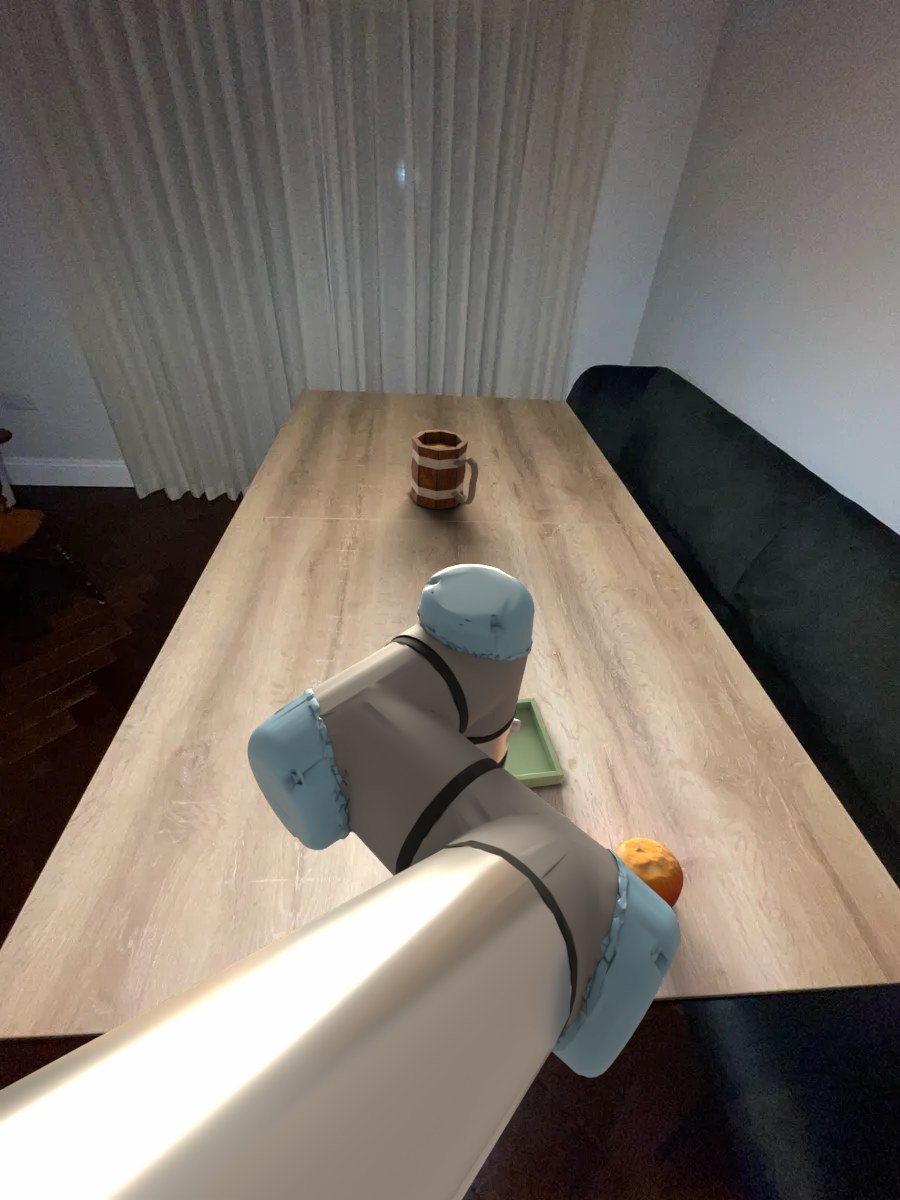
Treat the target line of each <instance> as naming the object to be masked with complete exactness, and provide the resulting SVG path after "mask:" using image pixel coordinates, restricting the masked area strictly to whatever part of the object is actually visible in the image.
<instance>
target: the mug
mask: <svg viewBox="0 0 900 1200" xmlns="http://www.w3.org/2000/svg"><path fill="white" fill-rule="evenodd" d="M411 444H412V445H411V446H412V458H411V464H410V469H411V489H410V496H411V498H412V500H413V501H414V502H415V504H416V505H418V506H422V507H425V508H429V509H433V510H440V509H441V510H443V509H450V508H455V507H457V506H458V505H459V504H461V505H465V506H466V505H470V504H472V503H473V501H474V499H475V496H476V491H477V483H478V477H479V465H478V463H477V461H476V460H475V459H474V458H473V457H467V449H468V445H469V441H468V439H466V437H464V435H463V434H462V433H459V432H457V431H456V432H455V431H452V430H446V429H443V428H442V429H441V428H439V429H426V430H425V429H424V430H420V431H419V432H417V433H416V434H414V435H413V436H411ZM466 464H468V465H469V466H470V479H469V483H468V491H467V492H468V493H467V498H466V497H465V496H464V483H465V482H464V481H465V476H466Z"/></svg>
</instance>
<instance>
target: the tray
mask: <svg viewBox="0 0 900 1200" xmlns="http://www.w3.org/2000/svg"><path fill="white" fill-rule="evenodd" d="M514 719H518V720H520V722H521V728H520V730H519V731H518V732H512V731H511V734H510V740H509V744H508V752H507V758H506V763H505V767H504V769H505V770H507V771H508V772H509V773H510V774H512V775H513V776H514V777H515V778H517V779H518V780H519V781H521V782H522V783H523V784H524V785H526V786H527V787H528V788H529V789H530V788H535V787H544V786H551V785H552V786H553V785H560V784H561V785H562V782H563V779H564V772H563V770H562V768H561V767H562V766H561V764H560V762H559V759H558V757H557V754H556V752H555V749H554V746H553V744H552V741H551V738H550V736H549V733H548V731H547V730H548V729H547V727H546V724H545V723H544V720H543V716H542V715H541V712H540V709H539V707H538V704H537V701H536V699H535V697H524V698H518V700H517V708H516V712H515V716H514Z"/></svg>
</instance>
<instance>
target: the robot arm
mask: <svg viewBox="0 0 900 1200" xmlns="http://www.w3.org/2000/svg"><path fill="white" fill-rule="evenodd" d="M420 593H421V594H420V601H419V604H418V608H417V609H416V613H417V617H418V620H417V622H416V623H415V624H414V625H413V626H411V627H409V628H408V629H406V630H404V631H402V632H401V633H400V634H398V635H395V637H393V638H392V639H390V641H389V642H388V643H386V644H385V645H384V646H383V647H382V648H380V649H378V650H377V651H375V652H373V653H372V654H369V655H368V656H366V657H364V658H363V659H361V660H359V661H358V662H356V663H354V664H353V665H351V666H349V667H347V668H345V669H344V670H342V671H340V672H338V673H337V674H335V675H332V676H331V677H329V678H328V679H326V680H325V681H322V682H321V683H319V684H318V685H316V686H314V687H309V688H307V689H306V690H304V691H303V692H302V693H301V694H300V695H298V696H297V697H295V698H294V699H293V700H291V701H290V702H288V703H287V704H286V705H284V706H283V707H281V708H280V709H278V710H277V711H275V712H274V713H273V714H272V715H271V716H270V717H268V718H267V719H266V720H264V721H263V722H262V723H261V724H259V725H258V726H257V727H256V728H255V729H254V730H253V732H251V733H252V734H251V735H250V736H249V740H248V744H247V758H248V763H249V767H250V770H251V772H252V774H253V777H254V779H255V782H256V784H257V786H258V787H259V789H260V791H261V794H262V795H263V797H264V799H265V800H266V802H267V803H268V805H269V807H270V808H271V810H272V811H273V813H274V814H275V815H276V816H277V817H276V818H278V819H279V821H280V823H281V824H282V825H283V826H284V827H285V829H286V830H287V831H288V832H289V833H290V834H291V835H292V837H294V838H296V839H298V841H299V842H300V843H301V844H302V845H303V846H304V847H305V848H307V849H310V850H313V851H323V850H325V849H328V848H329V847H330V846H332V845H334V844H335V843H336V842H338V841H340V840H345V839H346V838H348V836H350V834H351V833H353V834H355V836H357V838H359V840H360V841H361V842H362V843H363V844H364V845H365V846H366V847H367V849H368V850H370V852H371V853H372V854H373V855H374V856H375V857H376V858H377V859H378V861H379V862H380V863H381V864H382V865H383V866H384V867H385V868H386V869H387V871H388V872H389V873H390V874H391V875H392V876H390V877H389V878H387V879H386V880H384V881H382V882H380V883H378V884H375V886H373V887H371V888H369V889H367V890H365V891H364V892H362V893H360V894H358V895H355V897H353V898H351V899H349V900H347V901H345V902H343V903H341V904H339V905H338V906H336V907H333V908H332V909H330V910H329V911H327V912H325V913H323V914H321V915H319V916H318V917H316V918H314V919H312V920H310V921H308V922H306V923H304V924H302V925H301V926H299V927H298V928H295V929H294V930H292V931H290V932H288V933H286V934H284V935H283V936H281V937H279V938H277V939H276V940H273V941H272V942H270V943H268V944H266V945H264V946H263V947H261V948H259V949H257V950H255V951H253V952H252V953H250V954H248V955H246V956H244V957H242V958H241V959H239V960H237V961H235V962H233V963H231V964H229V965H228V966H226V967H223V968H222V969H220V970H219V971H217V972H214V973H213V974H211V975H210V976H207V977H205V978H204V979H202V980H200V981H198V982H197V983H195V984H192V985H191V986H189V987H188V988H185V989H184V990H182V991H180V992H178V993H176V994H174V995H173V996H171V997H169V998H168V999H165V1000H164V1001H162V1002H160V1003H158V1004H156V1005H154V1006H152V1007H151V1008H149V1009H146V1010H145V1011H143V1012H141V1013H139V1014H138V1015H136V1016H135V1017H132V1018H131V1019H128V1020H127V1021H125V1022H123V1023H122V1024H119V1025H118V1026H115V1027H114V1028H113V1029H111V1030H108V1031H107V1032H105V1033H103V1034H102V1035H99V1036H97V1037H96V1038H94V1039H92V1040H90V1041H88V1042H87V1043H85V1044H83V1045H81V1046H79V1047H77V1048H76V1049H74V1050H72V1051H69V1052H68V1053H67V1054H65V1055H63V1056H61V1057H59V1058H57V1059H55V1060H54V1061H52V1062H50V1063H48V1064H46V1065H45V1066H43V1067H41V1068H39V1069H37V1070H34V1071H33V1072H31V1073H30V1074H28V1075H26V1076H24V1077H23V1078H21V1079H19V1080H17V1081H15V1082H13V1083H11V1084H10V1085H7V1086H6V1087H4V1088H2V1089H1V1090H0V1200H463V1199H464V1197H465V1195H466V1193H467V1192H468V1190H469V1188H470V1187H471V1185H472V1183H473V1182H474V1180H475V1179H476V1177H477V1175H478V1174H479V1172H480V1170H481V1169H482V1167H483V1165H484V1164H485V1162H486V1161H487V1158H488V1157H489V1156H490V1153H491V1152H492V1150H493V1149H494V1147H495V1145H496V1144H497V1142H498V1140H499V1139H500V1137H501V1135H502V1134H503V1132H504V1130H505V1129H506V1127H507V1125H508V1124H509V1122H510V1120H512V1117H513V1115H514V1114H515V1113H516V1110H517V1108H519V1106H520V1104H521V1102H522V1101H523V1100H524V1097H525V1095H526V1094H527V1092H528V1091H529V1089H530V1087H531V1086H532V1084H533V1082H534V1080H535V1079H536V1077H537V1075H539V1072H540V1070H541V1069H542V1068H543V1066H544V1064H545V1063H546V1061H547V1059H548V1058H549V1056H550V1054H551V1053H553V1054H554V1055H555V1056H556V1057H557V1058H559V1059H560V1060H561V1061H562V1062H563V1063H564V1064H565V1065H566V1066H567V1067H568V1068H570V1069H571V1070H572V1072H574V1073H576V1074H577V1075H578V1076H583V1077H586V1078H588V1079H589V1078H597V1077H599V1076H601V1075H603V1074H604V1073H605V1072H606V1071H607V1070H608V1069H609V1068H610V1067H611V1066H612V1064H613V1063H614V1062H615V1060H616V1059H617V1058H618V1057H619V1055H620V1054H621V1053H622V1052H623V1049H624V1048H625V1046H626V1045H627V1043H629V1040H630V1039H632V1037H633V1035H634V1033H635V1031H636V1030H637V1028H638V1026H639V1025H640V1023H641V1021H643V1019H644V1017H645V1015H646V1013H647V1012H648V1010H649V1008H650V1006H651V1005H652V1003H653V1001H654V999H655V997H656V996H657V994H658V992H659V990H660V988H661V987H662V985H663V981H664V979H665V976H666V975H667V973H668V971H669V969H670V967H671V966H672V964H673V962H674V961H675V959H676V956H677V953H678V951H679V948H680V944H681V937H682V932H681V927H680V923H679V919H678V917H677V915H676V913H675V911H674V910H673V907H672V908H671V907H670V906H669V905H668V904H667V903H666V902H665V901H664V900H663V899H662V898H661V897H660V896H659V895H658V894H656V893H655V892H654V891H653V890H652V889H651V888H650V887H649V886H648V885H647V884H645V883H644V882H643V881H642V880H641V879H640V878H639V877H638V876H637V875H635V874H634V873H633V872H632V871H631V870H630V869H629V868H628V867H627V866H626V865H624V863H623V861H622V859H621V858H620V857H619V856H618V855H617V854H616V853H615V852H613V851H614V850H612V849H610V848H606V847H604V846H603V845H602V844H601V843H599V842H598V841H597V840H596V839H594V838H593V837H592V836H591V835H589V834H588V833H586V831H584V830H583V829H581V828H580V827H579V826H578V825H576V824H575V823H574V822H573V821H572V820H570V819H569V818H568V817H566V816H565V815H564V814H563V813H561V811H559V810H558V809H556V807H553V806H552V805H551V804H550V803H549V802H547V801H546V800H545V799H544V798H543V797H541V796H540V795H539V794H537V792H535V791H533V790H532V789H531V788H530V787H529V788H528V787H527V786H526V785H524V784H523V783H522V782H521V781H519V780H518V779H517V778H515V777H514V776H513V775H512V774H510V773H509V772H508V771H507V770H505V769H504V767H505V763H506V758H507V752H508V744H509V740H510V734H511V731H512V732H518V731H519V730H520V728H521V722H520V720H518V719H514V716H515V712H516V708H517V700H518V699H519V695H520V692H521V687H522V682H523V679H524V674H525V670H526V666H527V661H528V658H529V655H530V652H532V648H533V630H534V620H535V619H534V618H535V611H536V609H535V602H534V599H533V596H532V594H531V592H530V590H529V589H528V587H527V586H526V585H525V584H524V583H523V582H522V581H521V580H519V579H518V578H517V577H515V576H513V575H510V574H508V573H506V572H505V571H504V570H502V569H500V568H497V567H495V566H489V565H485V564H476V563H465V564H457V565H453V566H449V567H446V568H444V569H441V570H439V571H438V572H436V573H434V574H433V575H432V576H431V577H430V578H429V580H428V581H427V583H426V584H425V585H424V587H423V589H422V591H421V592H420Z"/></svg>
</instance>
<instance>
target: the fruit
mask: <svg viewBox="0 0 900 1200" xmlns="http://www.w3.org/2000/svg"><path fill="white" fill-rule="evenodd" d="M612 851H613V852H615V853H616V854H617V855H618V856H619V857H620V858H621V859H622V861H623V863H624V865H626V866H627V867H628V868H629V869H630V870H631V871H632V872H633V873H634V874H635V875H637V876H638V877H639V878H640V879H641V880H642V881H643V882H644V883H645V884H647V885H648V886H649V887H650V888H651V889H652V890H653V891H654V892H655V893H656V894H658V895H659V896H660V897H661V898H662V899H663V900H664V901H665V902H666V903H667V904H668V905H669V906H670V907H671V908H672V909H673V907H674V906H675V905H676V903H677V902H678V900H679V898H680V895H681V893H682V890H683V887H684V872H683V869H682V867H681V864H680V862H679V861H678V859H677V857H676V856H675V854H674V853H673V852H672V851H671V849H668V847H666V845H664V844H663V843H661V842H659V841H658V840H656V839H652V838H646V837H642V836H635V837H628V839H626V840H624V841H621V842H620V843H619V844H618V845H617V847H616V848H615V849H614V850H612Z"/></svg>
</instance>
